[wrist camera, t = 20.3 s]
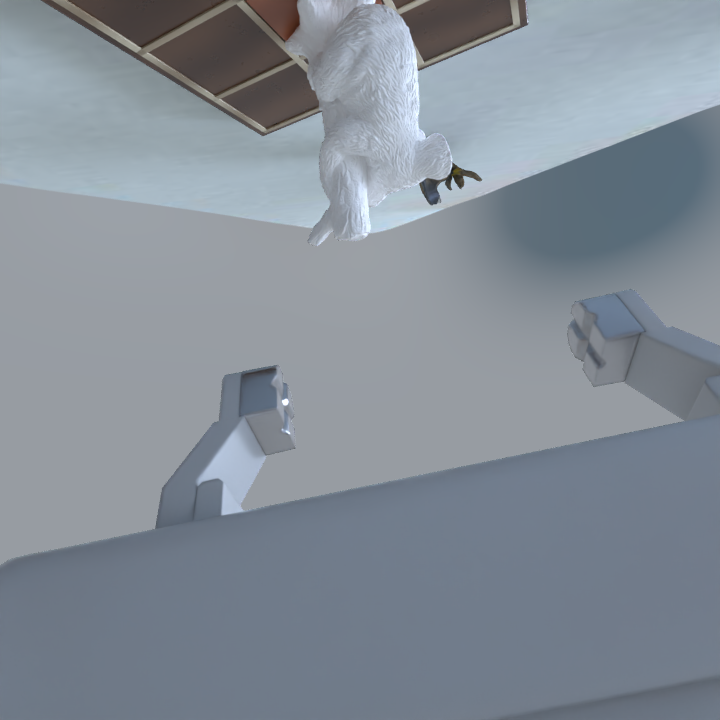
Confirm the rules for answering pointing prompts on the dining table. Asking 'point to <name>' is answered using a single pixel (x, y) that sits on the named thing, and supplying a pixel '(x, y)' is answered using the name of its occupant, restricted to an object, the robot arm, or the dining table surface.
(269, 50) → the board
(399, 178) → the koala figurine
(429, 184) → the eagle figurine
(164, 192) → the dining table surface
